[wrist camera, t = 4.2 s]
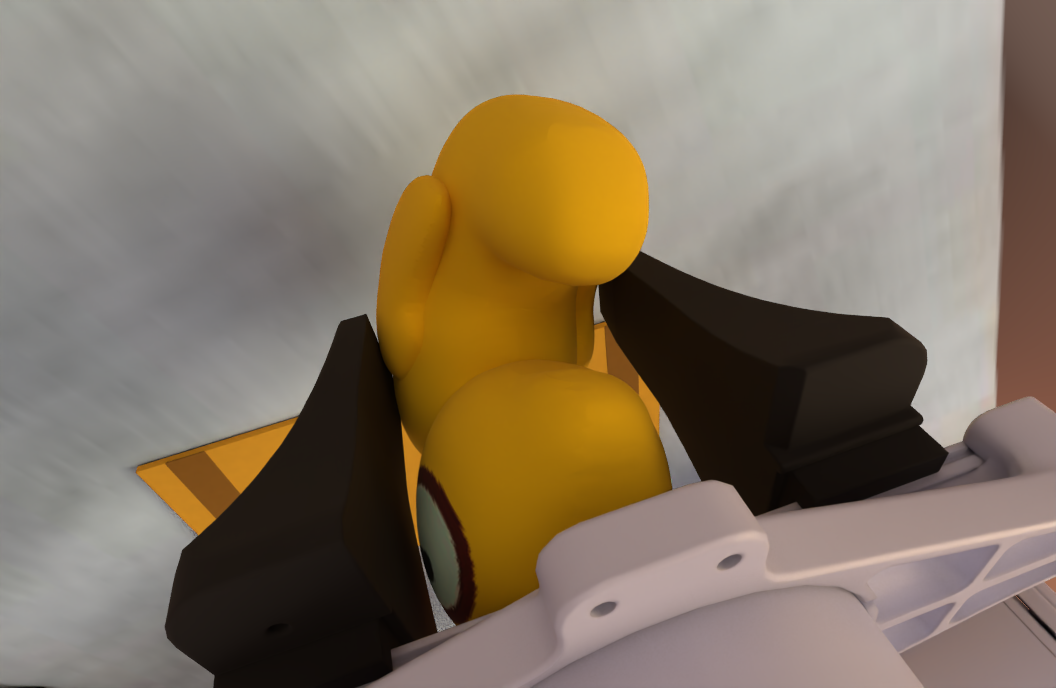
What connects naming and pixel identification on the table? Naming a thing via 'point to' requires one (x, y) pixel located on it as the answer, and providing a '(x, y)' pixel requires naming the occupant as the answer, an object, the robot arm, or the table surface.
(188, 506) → the cloth
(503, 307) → the duckling
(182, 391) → the table surface
